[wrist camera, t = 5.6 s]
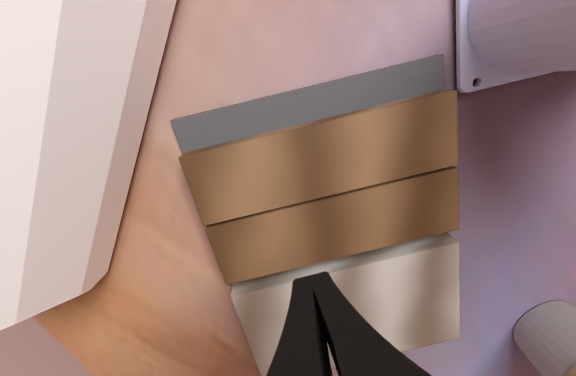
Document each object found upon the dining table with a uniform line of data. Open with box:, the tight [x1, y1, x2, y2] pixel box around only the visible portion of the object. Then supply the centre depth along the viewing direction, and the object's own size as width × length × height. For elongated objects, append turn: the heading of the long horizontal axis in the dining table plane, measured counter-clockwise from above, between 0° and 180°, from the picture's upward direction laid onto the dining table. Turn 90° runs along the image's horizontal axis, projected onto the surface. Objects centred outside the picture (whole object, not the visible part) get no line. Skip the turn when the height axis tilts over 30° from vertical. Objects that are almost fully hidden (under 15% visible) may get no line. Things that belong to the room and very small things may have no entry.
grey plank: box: [231, 232, 460, 376], centre depth 21 cm, size 16×9×2 cm, turn 103°
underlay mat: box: [170, 54, 448, 286], centre depth 20 cm, size 16×21×1 cm
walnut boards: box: [179, 90, 459, 285], centre depth 18 cm, size 16×9×2 cm, turn 103°
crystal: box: [0, 0, 177, 330], centre depth 14 cm, size 7×7×24 cm
